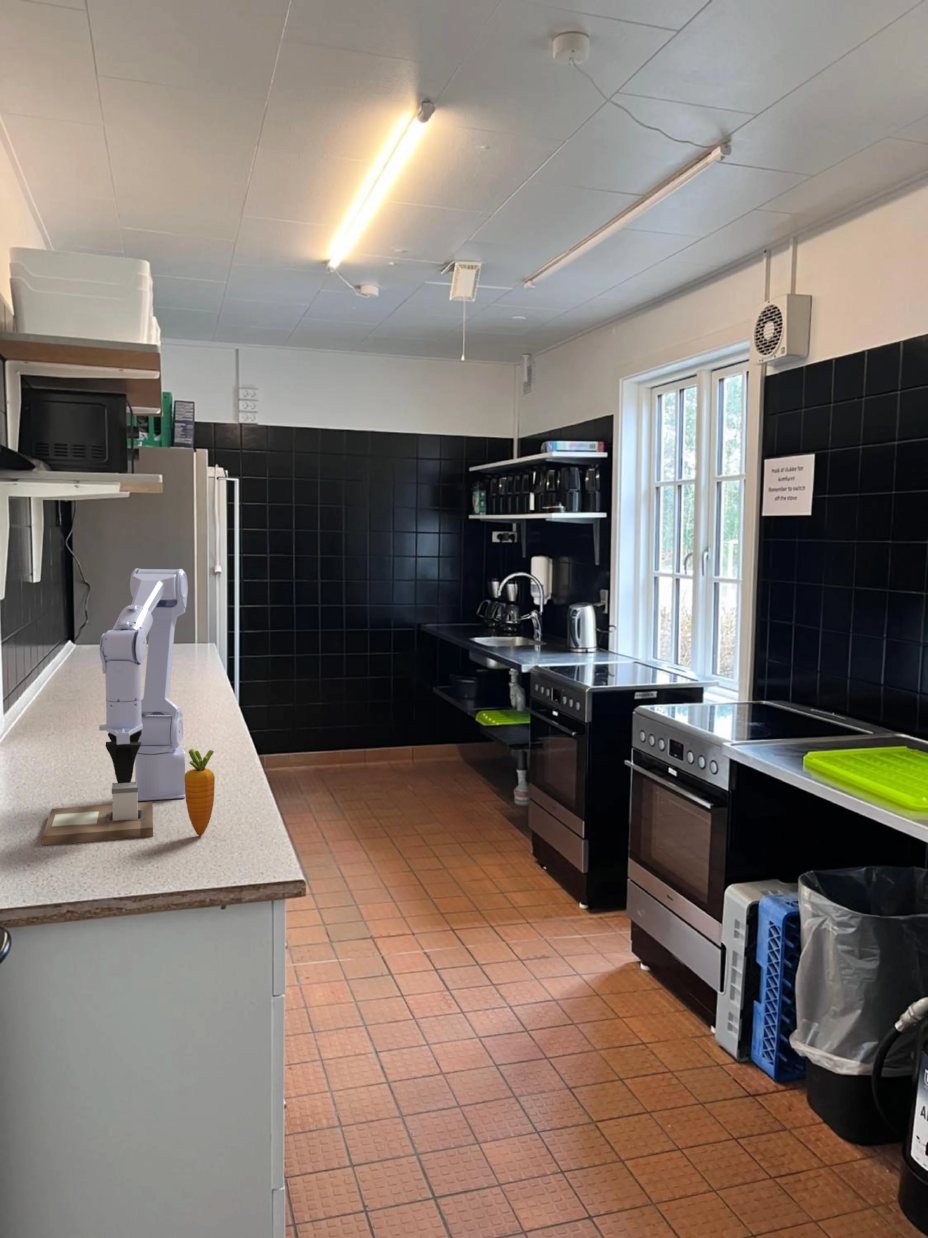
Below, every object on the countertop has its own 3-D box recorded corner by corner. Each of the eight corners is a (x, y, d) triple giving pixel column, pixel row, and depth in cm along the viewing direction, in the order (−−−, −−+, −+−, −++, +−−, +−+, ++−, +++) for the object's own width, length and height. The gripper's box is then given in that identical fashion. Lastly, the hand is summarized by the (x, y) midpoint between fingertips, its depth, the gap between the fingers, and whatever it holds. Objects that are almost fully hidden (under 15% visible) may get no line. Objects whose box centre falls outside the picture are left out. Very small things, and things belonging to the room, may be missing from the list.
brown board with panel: (152, 809, 172) (152, 800, 172) (153, 836, 157) (152, 826, 157) (52, 817, 167) (51, 807, 167) (42, 845, 152) (42, 835, 151)
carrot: (218, 831, 160) (217, 745, 159) (211, 840, 155) (210, 751, 154) (189, 831, 160) (188, 744, 159) (181, 840, 155) (180, 751, 154)
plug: (138, 820, 166) (137, 781, 165) (138, 827, 162) (137, 787, 161) (113, 822, 164) (112, 783, 164) (112, 829, 160) (111, 789, 160)
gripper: (100, 693, 167) (102, 768, 168) (96, 707, 153) (97, 789, 154) (142, 692, 169) (143, 766, 170) (142, 705, 155) (143, 786, 156)
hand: (124, 777), depth 162 cm, fingers open, 7 cm apart
